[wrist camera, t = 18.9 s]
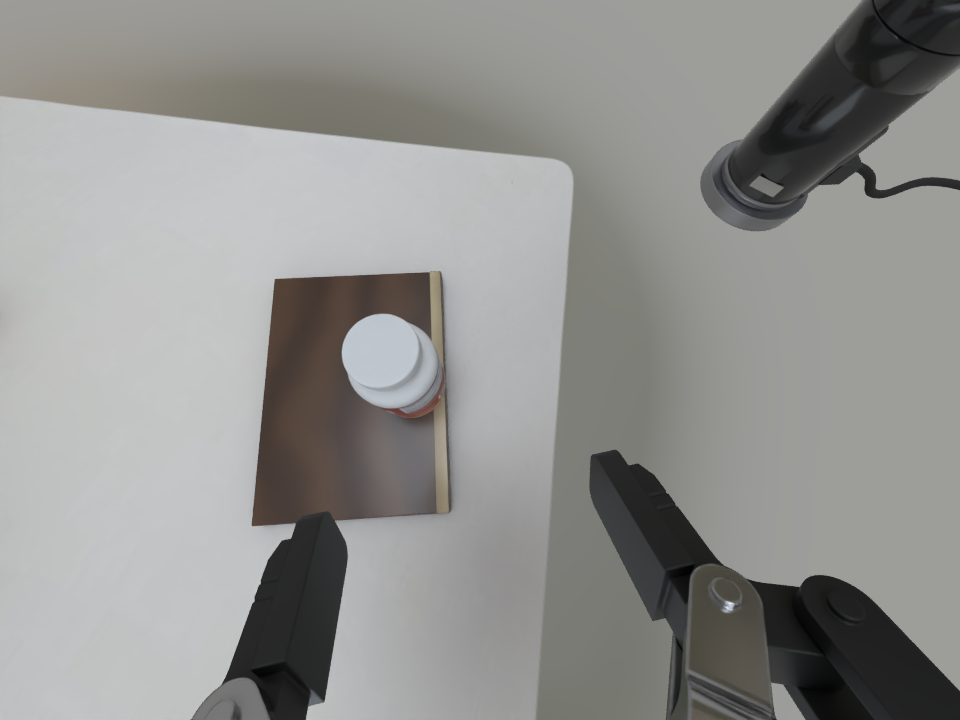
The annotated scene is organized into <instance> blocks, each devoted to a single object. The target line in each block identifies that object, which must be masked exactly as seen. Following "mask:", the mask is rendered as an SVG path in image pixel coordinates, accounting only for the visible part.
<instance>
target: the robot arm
mask: <svg viewBox="0 0 960 720" xmlns="http://www.w3.org/2000/svg"><path fill="white" fill-rule="evenodd" d="M959 68H960V0H862V1H861V2H860V3H859V5H858V6H857V7H856V8H855V9H854V10H853V11H852V13H851V14H850V15H849V16H848V17H847V18H846V20H845V21H844V22H843V23H842V24H841V25H840V27H839V28H838V29H837V30H836V32H835V33H834V34H833V35H832V36H831V37H830V38H829V40H828V41H827V42H826V43H825V44H824V45H823V47H822V48H821V49H820V50H819V51H818V52H817V54H816V55H815V56H814V57H813V58H812V59H811V61H810V62H809V63H808V64H807V65H806V66H805V68H804V69H803V70H802V71H801V73H800V74H799V75H798V76H797V77H796V78H795V79H794V81H793V82H792V83H791V84H790V85H789V86H788V87H787V89H786V90H785V91H784V92H783V93H782V95H781V96H780V97H779V98H778V99H777V100H776V102H775V103H774V104H773V105H772V106H771V107H770V108H769V110H768V111H767V112H766V113H765V114H764V116H763V117H762V118H761V119H760V120H759V121H758V122H757V124H756V125H755V126H754V127H753V128H752V129H751V131H750V132H749V133H748V134H747V135H746V137H745V138H744V139H743V140H742V141H741V142H740V143H739V145H738V146H737V147H735V148H734V149H733V150H732V151H731V153H730V154H729V155H728V156H727V157H726V159H725V160H724V162H723V165H722V178H723V181H724V184H725V186H726V188H727V189H728V191H729V192H730V193H731V194H732V195H733V196H734V197H735V198H736V199H737V200H738V201H740V202H741V203H743V204H745V205H747V206H749V207H751V208H754V209H758V210H763V211H774V210H779V209H782V208H785V207H787V206H788V205H790V204H791V203H792V202H793V201H795V200H796V199H799V198H803V197H804V196H805V195H807V194H808V193H809V192H811V191H812V190H813V189H814V188H815V187H817V186H818V185H832V184H840V183H841V182H843V181H844V180H845V179H847V178H848V177H849V176H851V175H852V174H853V173H855V172H858V173H859V174H860V175H862V176H863V178H864V179H865V193H866V195H867V196H869V197H872V198H885V197H888V196H892V195H895V194H898V193H900V192H903V191H905V190H908V189H911V188H914V187H919V186H942V187H948V188H953V189H958V190H960V181H959V180H953V179H947V178H933V177H932V178H921V179H917V180H913V181H910V182H907V183H904V184H901V185H899V186H896V187H893V188H891V189H887V190H877V189H876V188H875V185H876V176H875V173H874V172H873V170H872V169H871V168H870V167H869V166H867V165H865V164H863V163H862V162H861V160H860V158H859V155H858V154H859V153H860V152H862V151H863V150H864V149H866V148H867V147H868V146H869V145H871V144H872V143H873V142H875V141H876V140H877V139H878V138H880V137H881V136H882V135H884V134H885V133H886V132H887V130H888V127H889V124H890V123H891V122H893V121H894V120H895V119H896V118H898V117H899V116H900V115H901V114H903V113H904V112H905V111H906V110H908V109H909V108H910V107H912V106H913V105H914V104H915V103H917V102H918V101H919V100H920V99H922V98H923V97H924V96H925V95H927V94H928V93H929V92H930V91H931V90H933V89H934V88H935V87H936V86H938V85H939V84H940V83H941V82H943V81H944V80H945V79H946V78H948V77H949V76H950V75H952V74H953V73H954V72H955V71H957V70H958V69H959ZM590 494H591V498H592V501H593V504H594V507H595V509H596V511H597V513H598V514H599V517H600V519H601V520H602V522H603V524H604V526H605V528H606V530H607V532H608V534H609V536H610V538H611V540H612V542H613V544H614V546H615V548H616V550H617V552H618V554H619V556H620V558H621V560H622V562H623V564H624V566H625V568H626V570H627V572H628V574H629V576H630V577H631V579H632V581H633V583H634V585H635V587H636V589H637V591H638V593H639V595H640V597H641V599H642V601H643V603H644V605H645V607H646V609H647V611H648V613H649V615H650V617H651V619H652V621H655V620H659V619H663V618H666V620H667V621H668V623H669V625H670V627H671V629H672V631H673V636H672V649H671V650H672V651H671V662H670V674H669V688H668V700H667V714H666V720H776V717H775V713H774V707H773V698H772V687H771V682H772V683H778V684H783V685H784V687H785V688H786V690H787V691H788V693H789V694H790V696H791V698H792V699H793V701H794V702H795V704H796V705H797V707H798V708H799V710H800V711H801V713H802V715H803V716H804V718H805V719H806V720H960V691H959V690H958V689H957V688H956V687H955V686H954V685H953V684H952V683H951V682H950V680H948V678H947V677H946V676H945V675H944V674H943V673H942V672H941V671H940V670H939V669H938V668H937V667H936V666H935V665H934V664H933V663H932V662H931V661H930V660H929V659H928V657H927V656H926V655H925V654H924V653H923V652H922V651H921V650H920V649H919V648H918V647H917V646H916V645H915V644H914V643H913V642H912V641H911V640H910V639H909V638H908V637H907V636H906V635H905V634H904V632H903V631H902V630H901V629H900V628H899V627H898V626H897V625H896V624H895V623H894V622H893V621H892V620H891V619H890V618H889V617H888V616H887V615H886V614H885V613H884V612H883V611H882V610H881V608H880V607H878V605H877V604H876V603H875V602H873V600H871V599H870V598H869V597H868V596H867V595H866V594H864V593H863V592H862V591H860V590H859V589H857V588H856V587H854V586H852V585H851V584H849V583H847V582H844V581H842V580H840V579H837V578H834V577H830V576H824V575H815V576H811V577H809V578H807V579H805V581H804V582H803V583H802V585H801V586H800V587H794V586H786V585H776V584H767V583H760V582H755V581H752V580H748V579H746V578H744V577H743V576H742V575H740V574H739V573H738V572H736V571H734V570H732V569H730V568H728V567H726V566H724V565H723V564H721V563H720V561H719V560H717V558H716V557H715V556H714V555H713V553H712V552H711V551H710V550H709V548H708V547H707V545H706V544H705V543H704V541H703V540H702V539H701V537H700V536H699V535H698V533H697V532H696V531H695V529H694V528H693V527H692V525H691V524H690V523H689V521H688V520H687V519H686V517H685V516H684V514H683V513H682V512H681V510H680V509H679V508H678V507H676V505H675V503H674V501H673V500H672V498H671V497H670V496H669V494H667V493H666V490H665V489H664V488H663V486H662V485H661V484H660V482H659V481H658V479H657V478H656V477H655V476H654V475H653V474H652V473H650V472H649V471H648V470H646V469H645V468H643V467H642V466H641V465H639V464H634V465H629V466H628V464H627V463H626V461H625V460H624V458H623V457H622V456H621V454H620V453H619V452H618V451H617V450H612V451H607V452H602V453H598V454H593V455H592V456H591V462H590ZM347 559H348V554H347V545H346V542H345V539H344V538H343V536H342V534H341V532H340V530H339V528H338V526H337V525H336V523H335V521H334V519H333V517H332V515H331V514H330V512H328V511H325V512H320V513H315V514H311V515H306V516H302V517H300V518H299V519H298V521H297V523H296V526H295V529H294V532H293V535H292V538H291V539H288V540H283V541H281V543H280V544H279V546H278V547H277V548H276V550H275V551H274V553H273V554H272V555H271V557H270V558H269V560H268V562H267V565H266V568H265V570H264V573H263V576H262V579H261V585H259V587H258V590H257V593H256V595H255V602H254V603H253V604H252V607H251V609H250V612H249V615H248V618H247V620H246V623H245V626H244V629H243V632H242V634H241V637H240V640H239V643H238V646H237V648H236V651H235V654H234V657H233V659H232V662H231V665H230V668H229V670H228V673H227V675H226V677H225V679H224V681H223V683H222V685H221V686H220V687H218V688H217V689H216V690H215V691H213V692H212V693H211V694H210V695H209V696H208V697H207V698H206V700H205V701H204V702H203V703H202V704H201V706H200V707H199V708H198V710H197V711H196V713H195V714H194V716H193V718H192V719H191V720H306V715H307V710H308V706H311V705H315V704H319V703H323V702H324V701H325V695H326V689H327V683H328V677H329V671H330V665H331V659H332V653H333V646H334V640H335V634H336V628H337V622H338V616H339V610H340V604H341V598H342V591H343V585H344V579H345V573H346V567H347Z"/></svg>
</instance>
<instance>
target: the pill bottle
mask: <svg viewBox="0 0 960 720" xmlns="http://www.w3.org/2000/svg"><path fill="white" fill-rule="evenodd" d="M342 360H343V364H344V367H345V369H346V371H347V373H348V377H349V380H350V383H351V385H352V387H353V388H354V390H355V391H356V392H357V393H358V394H359V395H360V396H361V397H362V398H363V399H365V400H366V401H367V402H369V403H371V404H373V405H375V406H377V407H379V408H381V409H383V410H385V411H387V412H389V413H391V414H394V415H396V416H399V417H403V418H417V417H420V416H423V415H425V414H427V413H429V412H430V411H432V410H433V409H434V408H435V407H436V406H437V405H438V404H439V402H440V401H441V399H442V397H443V395H444V392H445V387H446V377H445V372H444V369H443V367H442V364H441V362H440V359H439V356H438V354H437V351H436V349H435V347H434V345H433V343H432V341H431V340H430V338H429V337H428V336H427V334H426V333H425V332H424V331H422V330H421V329H420V328H418V327H416V326H414V325H413V324H410V323H407V322H406V321H405V320H403V319H401V318H399V317H397V316H394V315H391V314H375V315H371V316H368V317H366V318H364V319H362V320H360V321H359V322H357V323H356V324H355V325H354V326H353V327H352V328H351V329H350V330H349V332H348V333H347V335H346V337H345V339H344V342H343V346H342Z"/></svg>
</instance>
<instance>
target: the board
mask: <svg viewBox="0 0 960 720" xmlns="http://www.w3.org/2000/svg"><path fill="white" fill-rule="evenodd" d="M375 314H391V315H394V316H397V317H399V318H401V319H403V320H405V321H406V322H407V323H410V324H413V325H414V326H416V327H418V328H420V329H421V330H422V331H424V332H425V333H426V334H427V336H428V337H429V338H430V340H431V341H432V343H433V345H434V347H435V349H436V351H437V354H438V356H439V359H440V362H441V364H442V367H443V369H444V372H445V377H446V364H445V338H444V312H443V286H442V275H441V272H440V271H430V272H427V273H404V274H381V275H358V276H335V277H312V278H289V279H275V283H274V293H273V304H272V315H271V325H270V336H269V347H268V357H267V368H266V379H265V390H264V400H263V411H262V422H261V432H260V443H259V454H258V464H257V475H256V486H255V496H254V507H253V518H252V526H263V525H277V524H291V523H297V521H298V519H299V518H300V517H302V516H306V515H311V514H315V513H320V512H325V511H328V512H330V514H331V515H332V517H333V519H334V520H349V519H363V518H377V517H392V516H406V515H420V514H435V513H437V514H439V513H449V512H450V510H451V495H450V469H449V443H448V417H447V390H446V387H445V392H444V395H443V397H442V399H441V401H440V402H439V404H438V405H437V406H436V407H435V408H434V409H433V410H432V411H430V412H429V413H427V414H425V415H423V416H420V417H417V418H403V417H399V416H396V415H394V414H391V413H389V412H387V411H385V410H383V409H381V408H379V407H377V406H375V405H373V404H371V403H369V402H367V401H366V400H365V399H363V398H362V397H361V396H360V395H359V394H358V393H357V392H356V391H355V390H354V388H353V387H352V385H351V383H350V380H349V377H348V373H347V371H346V369H345V367H344V364H343V360H342V346H343V342H344V339H345V337H346V335H347V333H348V332H349V330H350V329H351V328H352V327H353V326H354V325H355V324H356V323H357V322H359V321H360V320H362V319H364V318H366V317H368V316H371V315H375Z"/></svg>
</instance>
